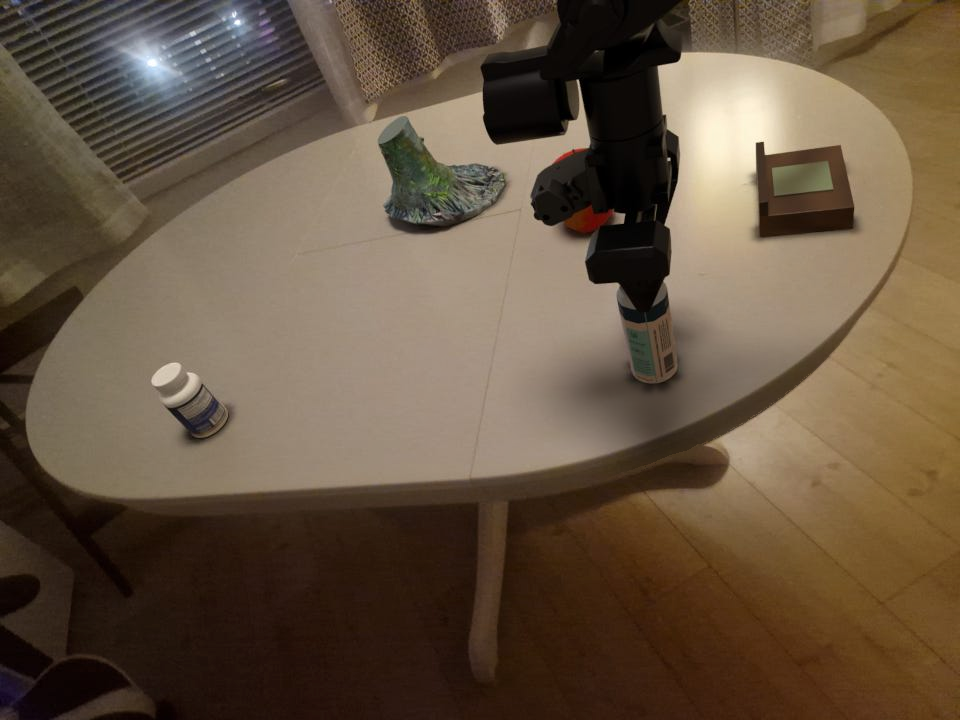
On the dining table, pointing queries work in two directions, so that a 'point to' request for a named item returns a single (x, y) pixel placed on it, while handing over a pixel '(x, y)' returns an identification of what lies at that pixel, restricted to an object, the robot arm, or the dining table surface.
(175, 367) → the pill bottle
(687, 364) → the dining table surface
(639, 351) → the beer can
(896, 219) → the dining table surface
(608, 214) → the apple
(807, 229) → the brown rectangular block
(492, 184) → the tree stump
